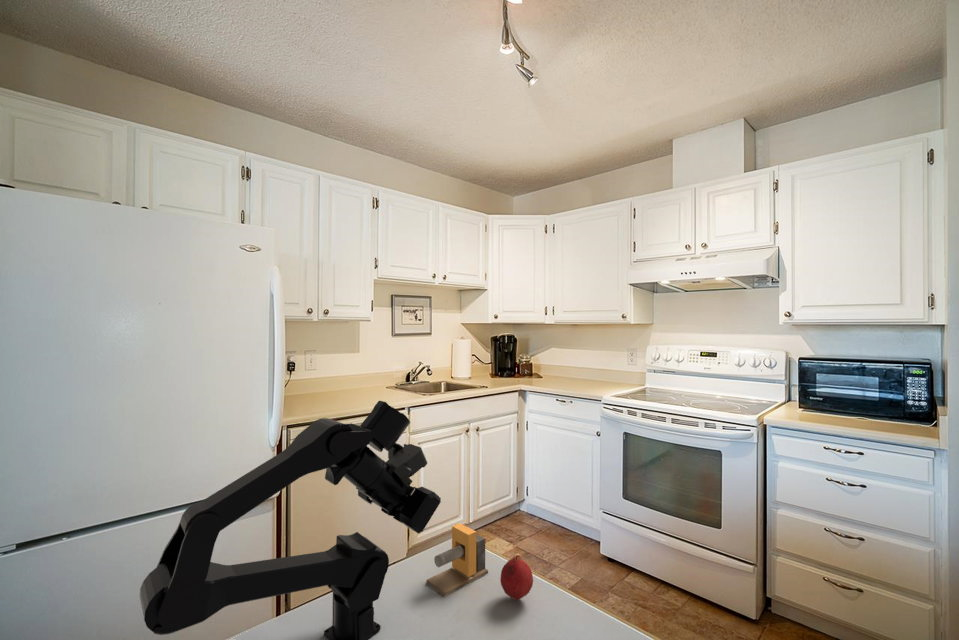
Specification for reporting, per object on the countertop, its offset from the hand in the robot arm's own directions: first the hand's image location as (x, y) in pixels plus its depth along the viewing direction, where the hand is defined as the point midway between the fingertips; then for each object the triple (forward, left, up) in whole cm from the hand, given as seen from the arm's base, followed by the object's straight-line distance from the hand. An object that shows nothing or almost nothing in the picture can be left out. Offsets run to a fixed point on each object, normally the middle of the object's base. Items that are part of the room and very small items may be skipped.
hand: (424, 520), depth 78 cm
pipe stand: (+1, +8, -14) cm, 16 cm away
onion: (+14, +9, -14) cm, 22 cm away
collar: (+2, +9, -13) cm, 16 cm away
